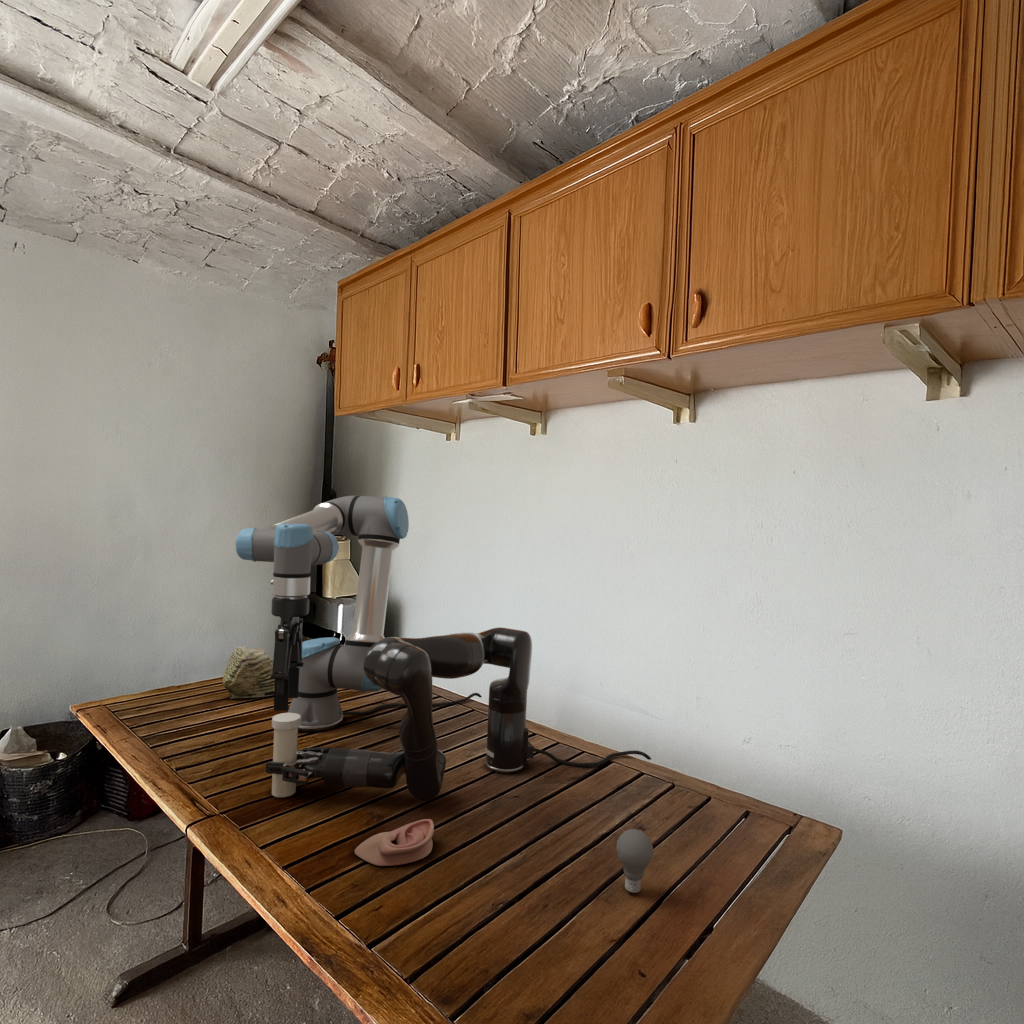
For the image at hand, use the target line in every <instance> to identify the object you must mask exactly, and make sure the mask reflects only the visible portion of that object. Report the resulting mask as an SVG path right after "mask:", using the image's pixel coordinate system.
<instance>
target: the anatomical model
mask: <svg viewBox="0 0 1024 1024" xmlns="http://www.w3.org/2000/svg"><path fill="white" fill-rule="evenodd" d="M434 824H435V823H434V821H433V820H432V819H430V818H424V819H423V818H422V819H419V820H416V821H413V822H410V823H407V824H405V825H402V826H400V827H397V828H395V829H393V830H391V831H384V832H379V833H377V834H374V835H372V836H370V837H368V838H367V839H365V840H363V841H362V842H361V843H360V844H359V845H358V846H356V847H355V849H354V854H355V856H357V857H358V858H360V859H361V860H363V861H365V862H367V863H368V864H372V865H374V866H378V867H390V866H398V865H399V866H400V865H406V864H409V863H413V862H417V861H419V860H422V859H424V858H426V857H427V856H429V854H430V853H431V852H432V850H433V843H434V842H433V839H432V838H433V837H434V834H435V825H434Z"/></svg>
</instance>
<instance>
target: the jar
mask: <svg viewBox="0 0 1024 1024" xmlns="http://www.w3.org/2000/svg"><path fill="white" fill-rule="evenodd" d="M298 742H299V731H298V727H297V728H294V729H289V730H278V729H274V728H273V742H272V743H273V745H272V762H282V763H293V762H296V760H297V751H298V748H299V747H298ZM291 768H295V767H291ZM290 777H291V776H290ZM296 792H297V783H292V782H287V781H283V780H282V774H271V795H272V796H273V797H275V798H286V797H291V796H292V795H294V794H295V793H296Z"/></svg>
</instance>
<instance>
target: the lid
mask: <svg viewBox="0 0 1024 1024" xmlns="http://www.w3.org/2000/svg"><path fill="white" fill-rule="evenodd" d="M300 724H301V716H300V715H299V714H297V713H288V712H281V713H278V714H275V715H274V716H272V718H271V727H272V728H273V730H274V729H278V730H289V729H294V728H297V727H298V726H300Z"/></svg>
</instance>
